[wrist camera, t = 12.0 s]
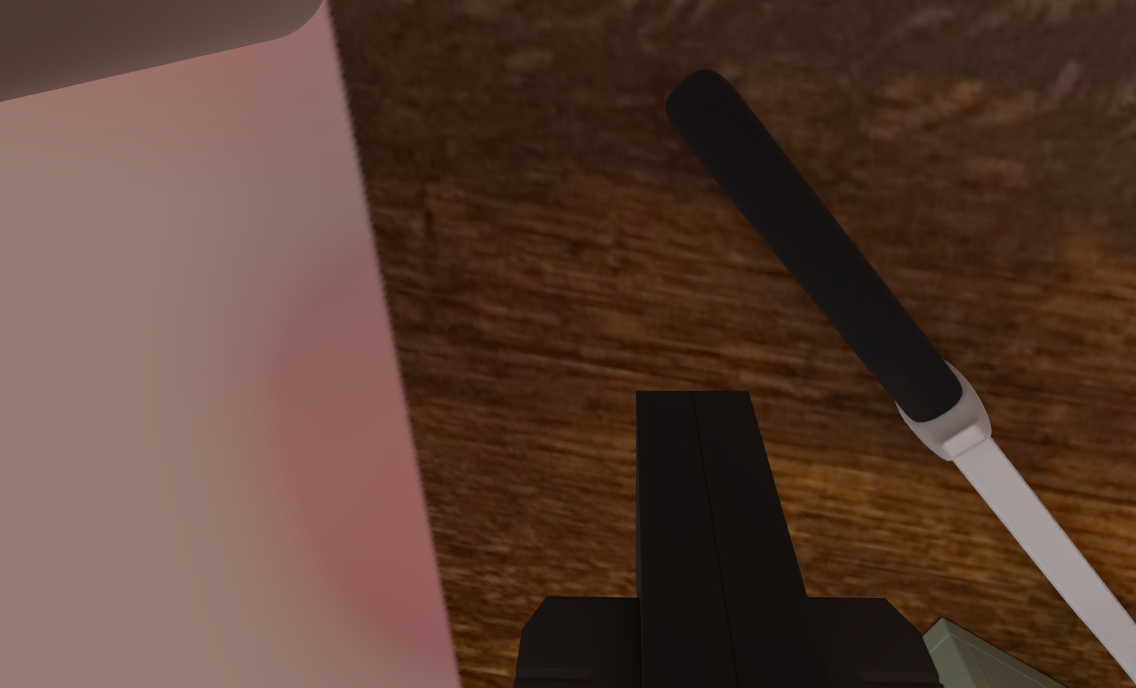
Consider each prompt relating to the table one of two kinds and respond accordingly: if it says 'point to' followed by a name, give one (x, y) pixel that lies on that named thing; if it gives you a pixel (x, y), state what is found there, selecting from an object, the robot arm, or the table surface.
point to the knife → (884, 337)
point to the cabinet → (977, 661)
